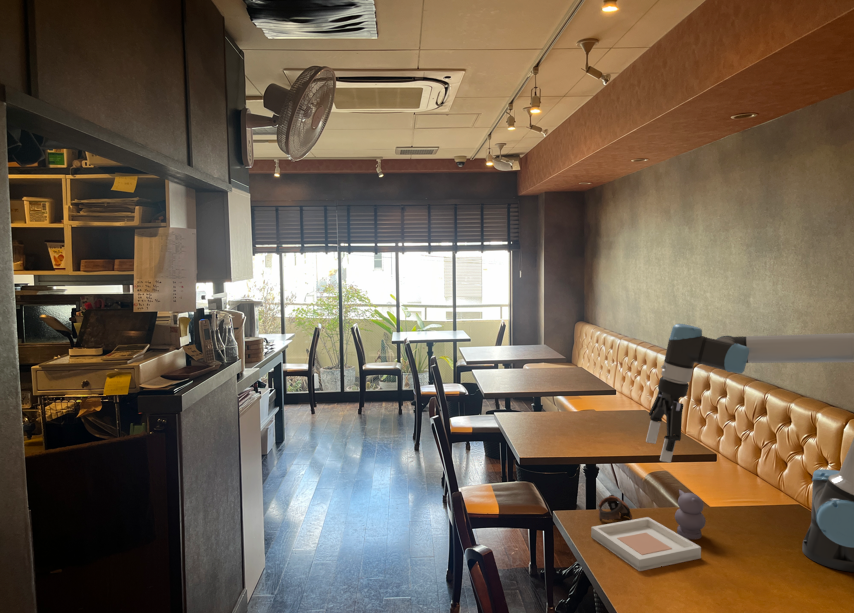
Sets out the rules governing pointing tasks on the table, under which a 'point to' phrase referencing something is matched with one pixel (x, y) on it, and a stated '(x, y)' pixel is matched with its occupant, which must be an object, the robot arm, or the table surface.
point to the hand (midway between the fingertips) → (657, 451)
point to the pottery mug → (614, 509)
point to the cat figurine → (690, 515)
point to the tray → (645, 543)
